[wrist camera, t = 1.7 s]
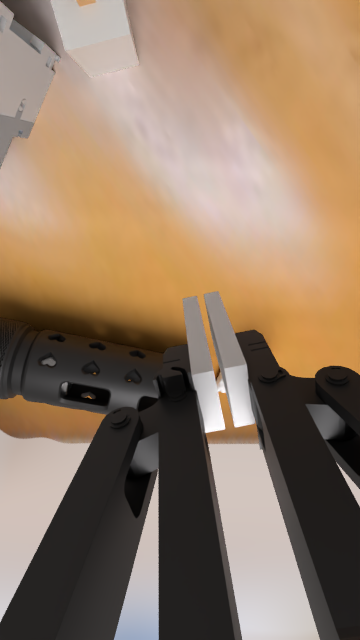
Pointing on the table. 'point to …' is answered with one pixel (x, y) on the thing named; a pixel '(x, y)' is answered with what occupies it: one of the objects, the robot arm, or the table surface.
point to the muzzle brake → (75, 370)
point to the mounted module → (96, 34)
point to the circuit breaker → (21, 78)
